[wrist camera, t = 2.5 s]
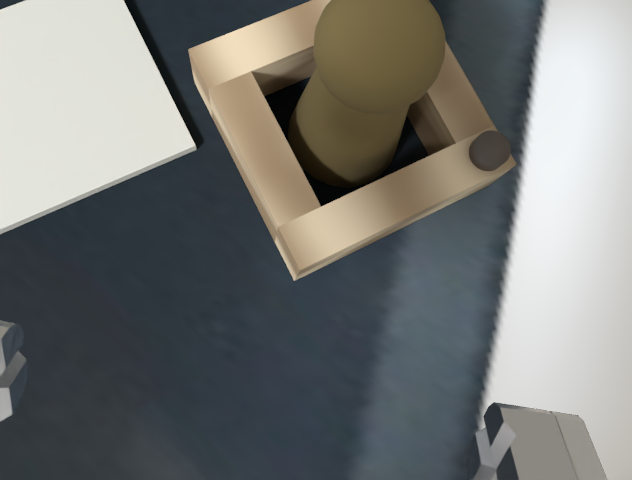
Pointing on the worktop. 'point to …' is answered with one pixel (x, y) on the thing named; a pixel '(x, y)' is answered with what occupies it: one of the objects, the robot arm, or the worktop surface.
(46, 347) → the worktop surface
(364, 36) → the brown pawn
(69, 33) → the white mat
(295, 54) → the sleeve block
